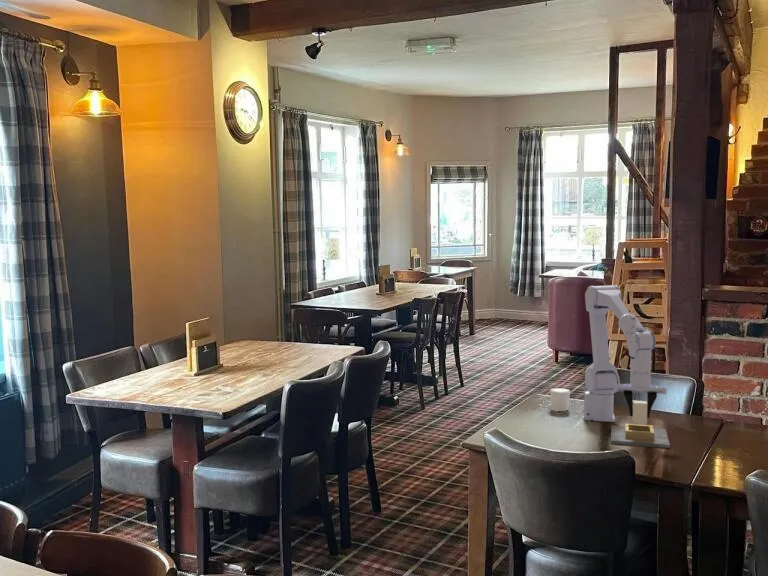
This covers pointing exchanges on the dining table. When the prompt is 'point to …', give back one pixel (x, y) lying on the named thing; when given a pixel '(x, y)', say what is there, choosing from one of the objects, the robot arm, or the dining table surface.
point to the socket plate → (639, 436)
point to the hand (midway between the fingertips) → (639, 416)
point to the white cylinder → (560, 398)
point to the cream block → (639, 412)
